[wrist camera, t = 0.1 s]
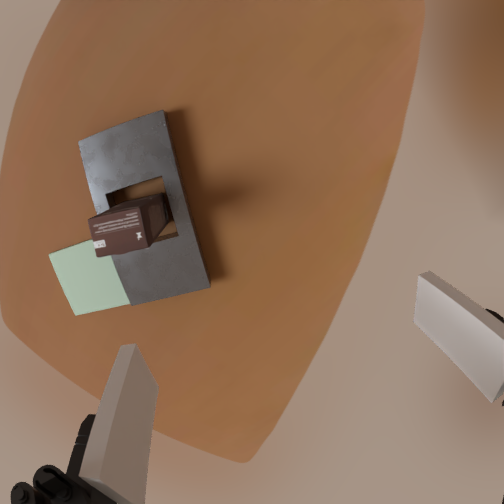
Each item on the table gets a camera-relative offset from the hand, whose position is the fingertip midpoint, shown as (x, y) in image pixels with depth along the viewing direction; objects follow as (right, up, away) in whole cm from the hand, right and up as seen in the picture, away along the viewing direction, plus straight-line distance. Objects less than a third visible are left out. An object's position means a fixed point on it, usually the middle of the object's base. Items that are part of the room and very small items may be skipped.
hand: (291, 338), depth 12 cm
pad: (-27, 0, +26) cm, 37 cm away
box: (-16, +9, +25) cm, 31 cm away
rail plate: (-16, +9, +24) cm, 31 cm away
